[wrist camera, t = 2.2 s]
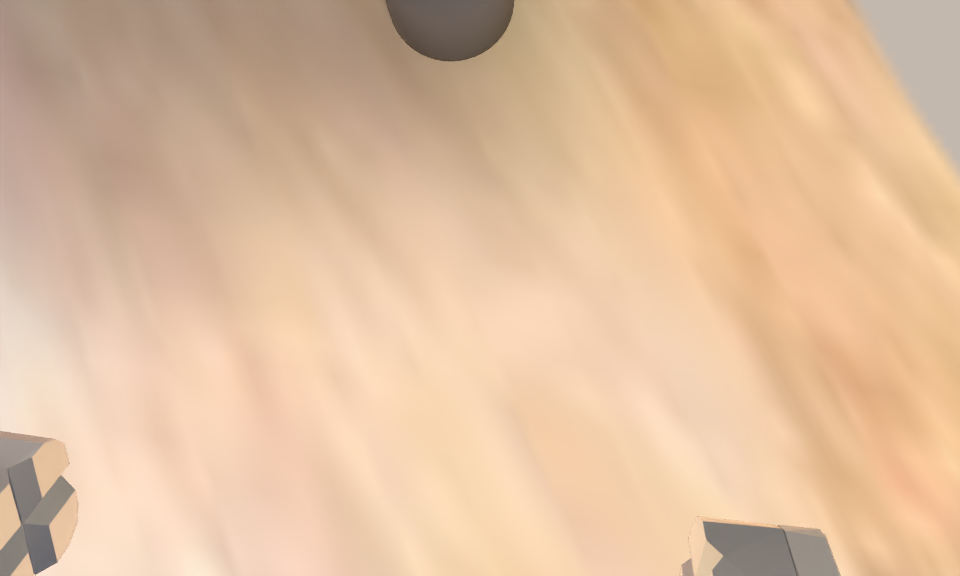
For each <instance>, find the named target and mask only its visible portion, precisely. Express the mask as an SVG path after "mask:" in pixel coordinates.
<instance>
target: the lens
mask: <svg viewBox="0 0 960 576" xmlns="http://www.w3.org/2000/svg"><path fill="white" fill-rule="evenodd" d="M386 3H387V6H388V9H389V13H390V16H391V19H392V22H393V24H394V26H395V28H396V30H397V32H398V33H399V35H400V36H401V38H402V39H403V40H404V41H405V42H406V43H407V44H408V45H409V46H410V47H411V48H413V49H414V50H416V51H417V52H419V53H420V54H422V55H425V56H427V57H429V58H433V59H436V60H442V61H460V60H465V59H469V58H472V57H475V56H477V55H479V54H481V53H483V52H485V51H486V50H488V49H489V48H491V47H492V46H493V45H494V44H495V43H496V42H497V41H498V40H499V39H500V37H501V36H502V35H503V33H504V32H505V30H506V29H507V27H508V24H509V22H510V20H511V16H512V13H513V7H514V0H386Z"/></svg>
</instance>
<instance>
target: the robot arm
mask: <svg viewBox="0 0 960 576" xmlns="http://www.w3.org/2000/svg"><path fill="white" fill-rule="evenodd" d="M69 464H70V463H69V459H68V456H67V452H66V448H65V445H64V443H62V442H60V441H58V440H56V439H51V438H45V437H38V436H31V435H24V434H17V433H10V432H3V431H0V576H36V574H38V573H40V572H41V571H43V570H45V569H47V568H48V567H50V566H52V565H54V564H55V563H57V562H58V561H59V559H60V558H61V556H62V555H63V553H64V552H65V550H66V549H67V547H68V546H69V544H70V542H71V539H72V536H73V533H74V530H75V527H76V525H77V519H78V501H77V496H76V491H75V489H74V488H73V487H72V486H71V485H70V484H69V483H68V482H67V481H66V480H65V479H64V478H63V477H62V476H61V475H62V473H63V472H64V471H65V469H66V468H67V466H68V465H69ZM688 541H689V547H690V553H691V558H690V559H689V560H688V561H686V562H685V563H684V564H682V565H681V569H680V574H679V576H841V575H840V572H839V569H838V567H837V564H836V561H835V559H834V556H833V553H832V551H831V548H830V545H829V543H828V540H827V537H826V535H825V534H824V533H823V532H822V531H821V530H820V529H813V528H803V527H794V526H784V525H778V526H775V525H770V524H761V523H753V522H744V521H735V520H726V519H717V518H708V517H699V516H697V517H696V519H695V521H694V522H693V524H692V527H691V531H690V535H689V538H688Z"/></svg>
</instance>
